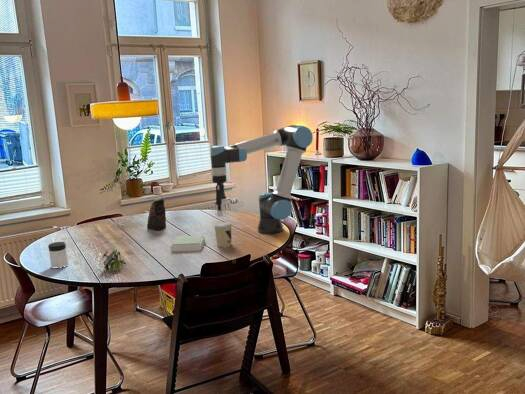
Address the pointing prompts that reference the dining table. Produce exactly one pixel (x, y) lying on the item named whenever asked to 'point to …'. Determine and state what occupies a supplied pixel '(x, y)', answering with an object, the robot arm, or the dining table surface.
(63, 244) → the jar
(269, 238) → the dining table surface
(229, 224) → the coffee cup
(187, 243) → the plinth
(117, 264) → the small green plant
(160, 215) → the owl
